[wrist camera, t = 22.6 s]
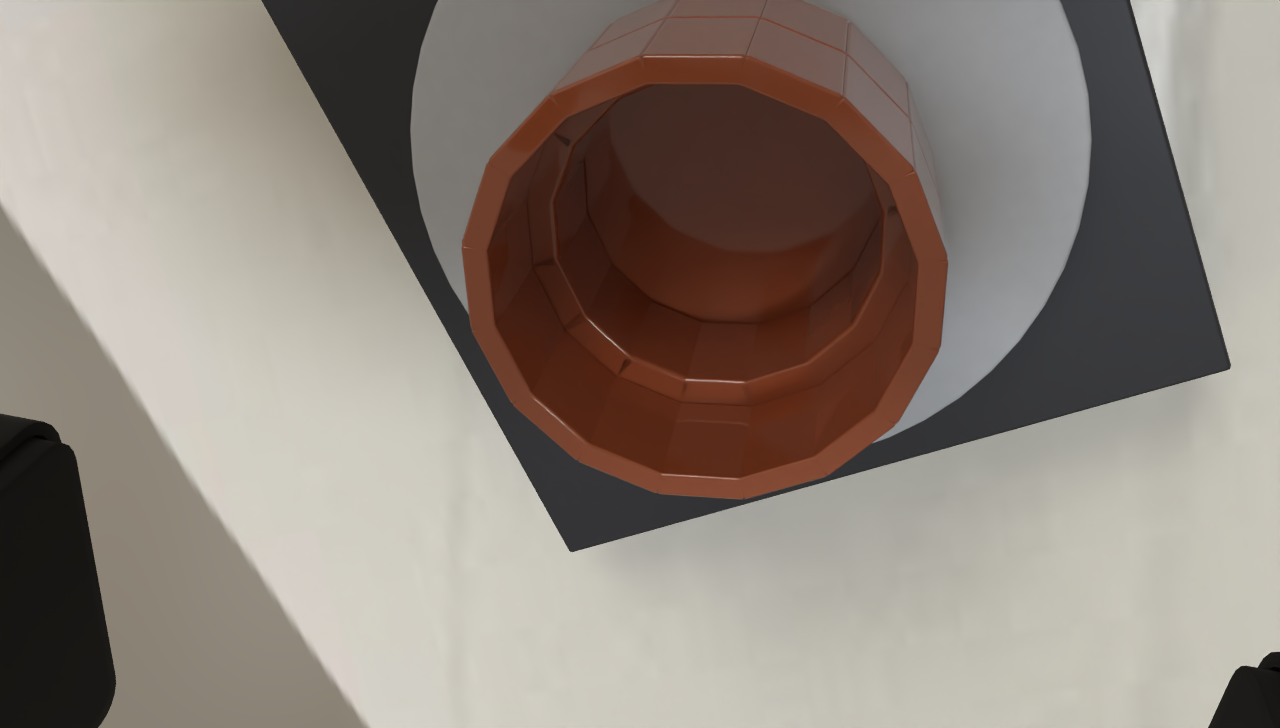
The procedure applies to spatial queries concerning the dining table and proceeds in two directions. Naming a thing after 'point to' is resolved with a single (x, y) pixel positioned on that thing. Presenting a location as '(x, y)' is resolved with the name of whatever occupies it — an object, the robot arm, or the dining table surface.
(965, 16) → the scale
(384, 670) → the dining table surface
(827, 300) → the plant pot
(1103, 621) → the dining table surface
